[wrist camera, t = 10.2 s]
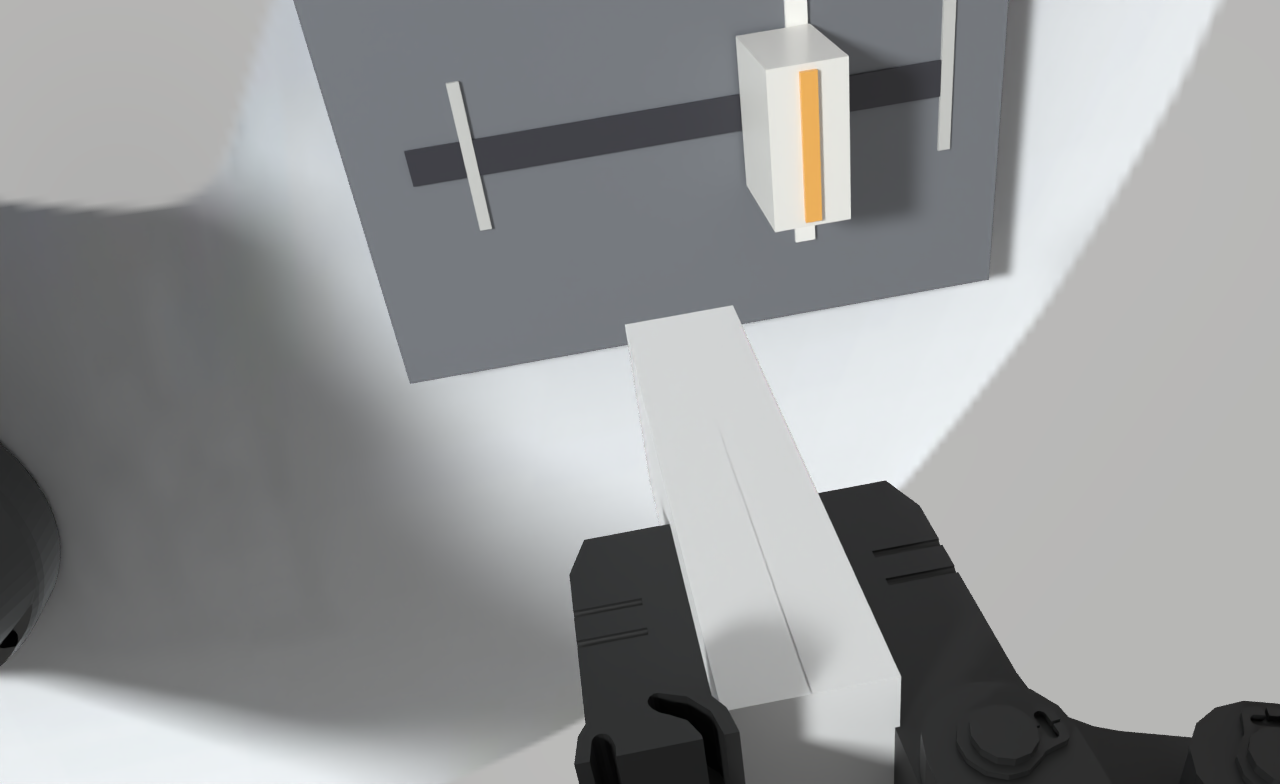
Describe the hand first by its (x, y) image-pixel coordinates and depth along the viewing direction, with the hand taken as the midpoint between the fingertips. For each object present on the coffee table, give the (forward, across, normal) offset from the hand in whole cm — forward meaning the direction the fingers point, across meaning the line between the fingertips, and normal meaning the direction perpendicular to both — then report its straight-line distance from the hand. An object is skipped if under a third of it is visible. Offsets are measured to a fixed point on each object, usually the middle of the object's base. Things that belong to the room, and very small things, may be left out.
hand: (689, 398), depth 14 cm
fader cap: (+20, +6, -3) cm, 21 cm away
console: (+22, +3, -3) cm, 23 cm away
